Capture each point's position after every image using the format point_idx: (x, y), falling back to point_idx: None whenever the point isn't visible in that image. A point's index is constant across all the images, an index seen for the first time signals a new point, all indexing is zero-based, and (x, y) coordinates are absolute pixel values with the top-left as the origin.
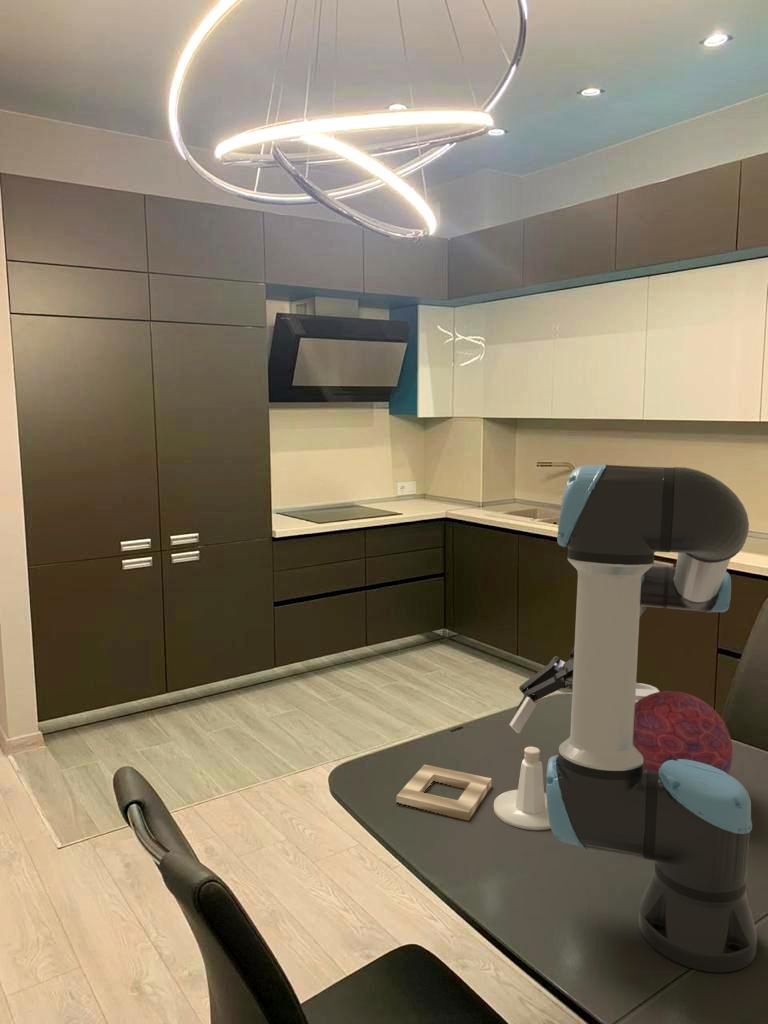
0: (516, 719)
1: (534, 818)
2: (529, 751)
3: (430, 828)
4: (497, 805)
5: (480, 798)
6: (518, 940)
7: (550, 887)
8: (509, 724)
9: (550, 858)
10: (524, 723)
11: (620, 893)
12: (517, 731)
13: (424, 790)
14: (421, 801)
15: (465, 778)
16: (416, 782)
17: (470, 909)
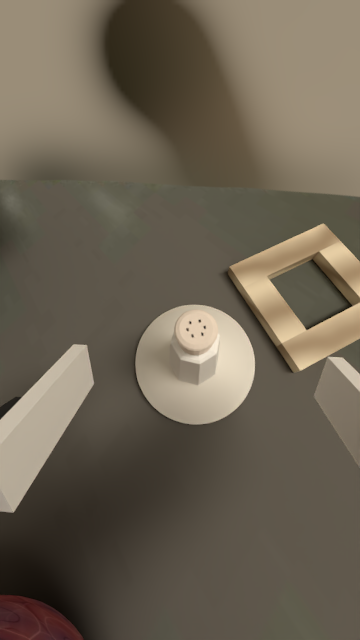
0: (345, 378)
1: (166, 337)
2: (191, 312)
3: (241, 230)
4: (228, 321)
5: (259, 315)
6: (56, 187)
7: (71, 253)
8: (342, 358)
9: (100, 291)
10: (335, 427)
11: (5, 300)
12: (317, 389)
13: (329, 273)
14: (291, 238)
15: (323, 332)
16: (347, 264)
17: (110, 183)
